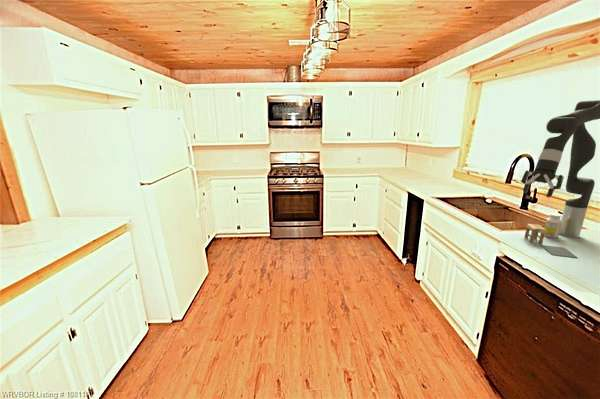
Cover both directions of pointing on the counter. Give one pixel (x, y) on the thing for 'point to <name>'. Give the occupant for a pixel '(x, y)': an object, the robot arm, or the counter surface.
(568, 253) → the rubber mat
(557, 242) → the counter surface
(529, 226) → the notched wooden block
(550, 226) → the supplement bottle
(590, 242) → the counter surface
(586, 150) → the robot arm
